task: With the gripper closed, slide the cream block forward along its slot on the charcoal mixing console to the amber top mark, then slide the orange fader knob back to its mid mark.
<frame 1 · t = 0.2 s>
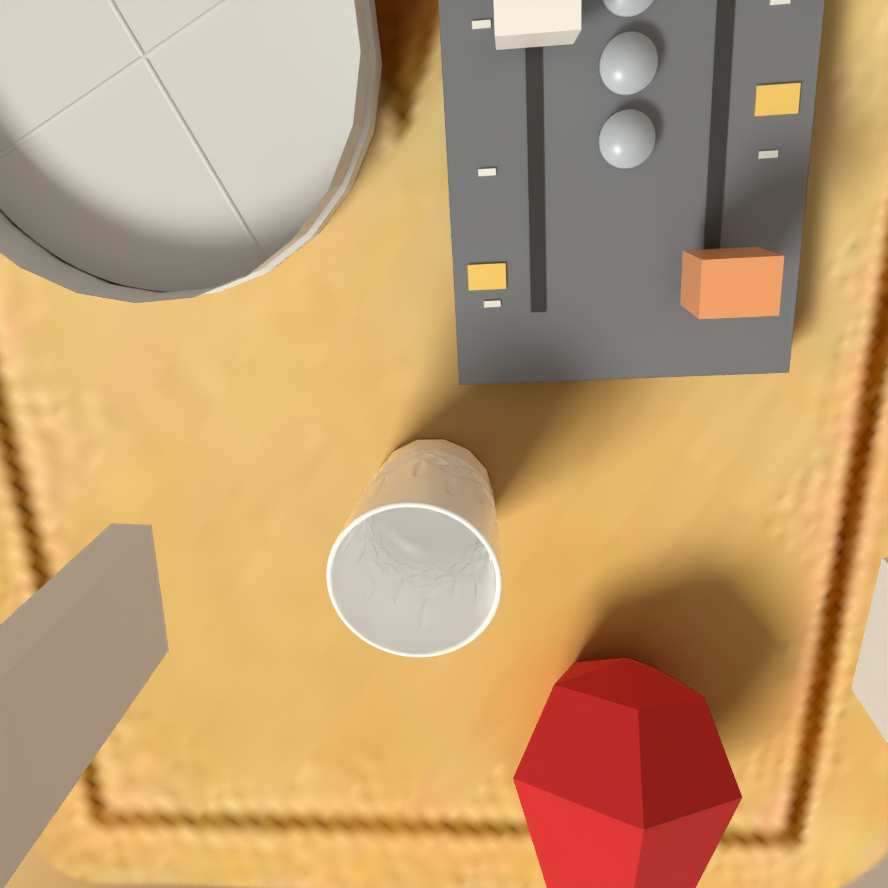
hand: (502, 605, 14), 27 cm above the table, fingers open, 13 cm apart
console: (617, 163, 37), on the table
red faceted polyhedron: (608, 720, 48), on the table
cream block: (534, 8, 30), point 5 cm above the table, slide at 0.0 cm
dish: (159, 61, 37), on the table
fader b: (725, 279, 33), point 5 cm above the table, slide at 11.0 cm
white cup: (433, 491, 44), on the table
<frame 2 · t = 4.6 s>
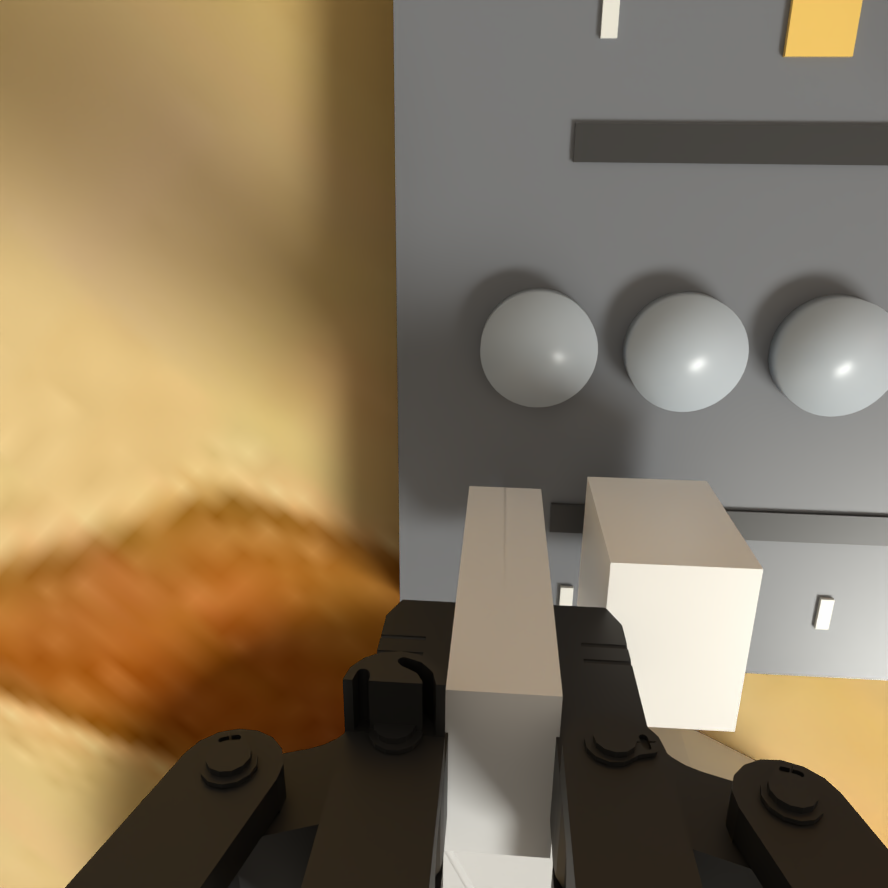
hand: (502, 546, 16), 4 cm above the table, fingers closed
console: (829, 329, 18), on the table
cream block: (649, 577, 15), point 5 cm above the table, slide at 1.3 cm, touching gripper
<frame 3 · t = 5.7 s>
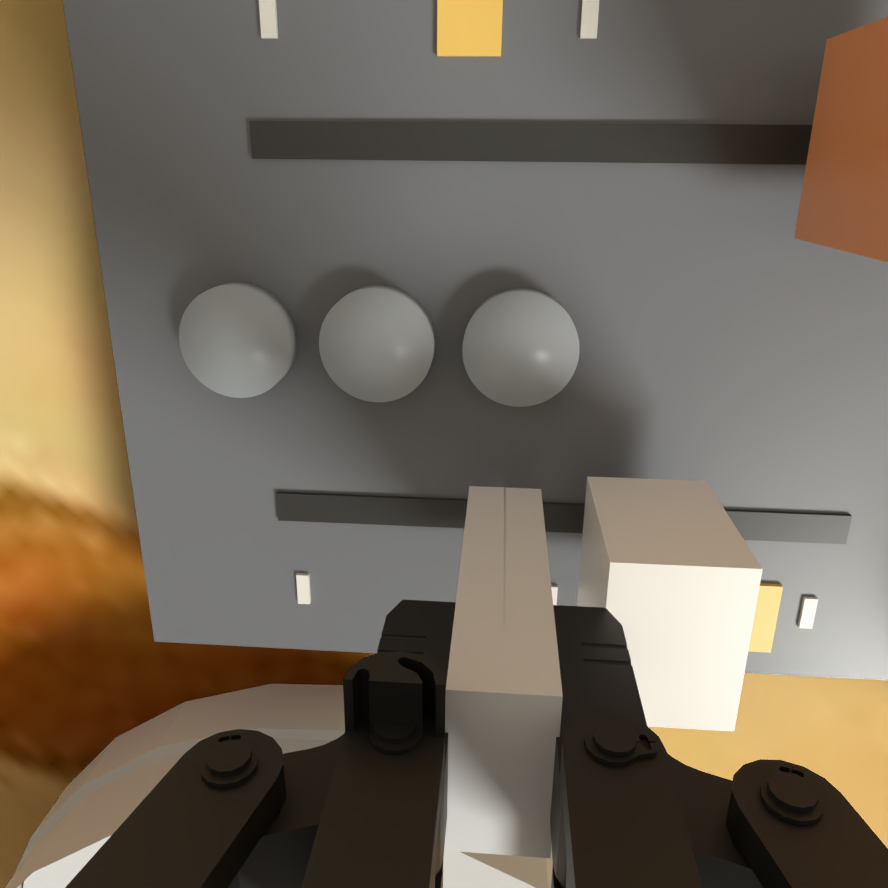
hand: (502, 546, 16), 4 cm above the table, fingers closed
console: (559, 322, 19), on the table
cream block: (648, 577, 15), point 5 cm above the table, slide at 7.7 cm, touching gripper
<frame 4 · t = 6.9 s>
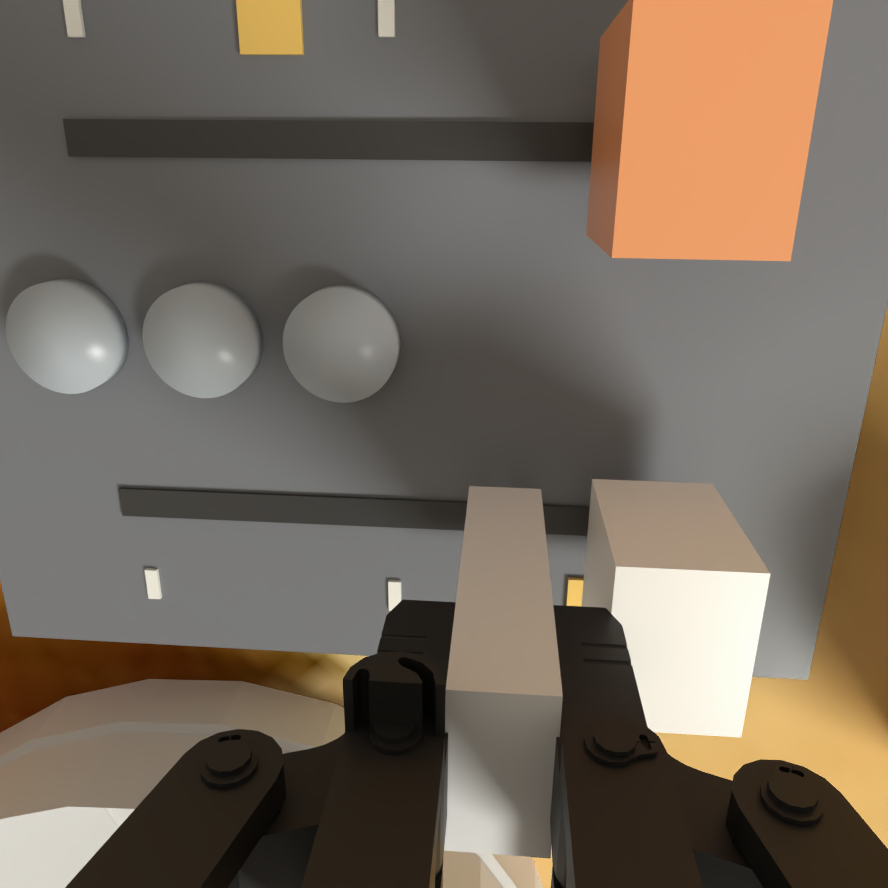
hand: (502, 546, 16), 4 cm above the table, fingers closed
console: (405, 319, 19), on the table
cream block: (654, 580, 15), point 5 cm above the table, slide at 11.5 cm, touching gripper
fader b: (677, 138, 12), point 5 cm above the table, slide at 11.0 cm
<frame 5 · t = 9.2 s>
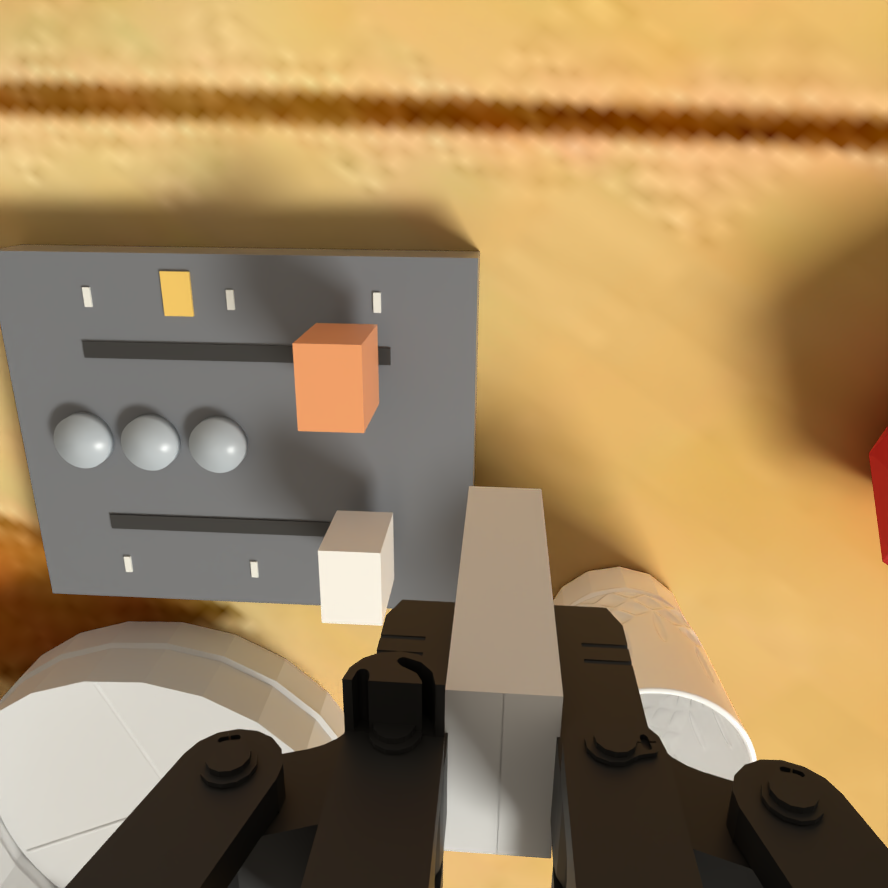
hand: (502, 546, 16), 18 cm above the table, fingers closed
console: (260, 424, 35), on the table
cream block: (361, 558, 32), point 5 cm above the table, slide at 11.5 cm
dish: (190, 780, 44), on the table
fader b: (342, 371, 29), point 5 cm above the table, slide at 11.0 cm
white cup: (611, 622, 38), on the table
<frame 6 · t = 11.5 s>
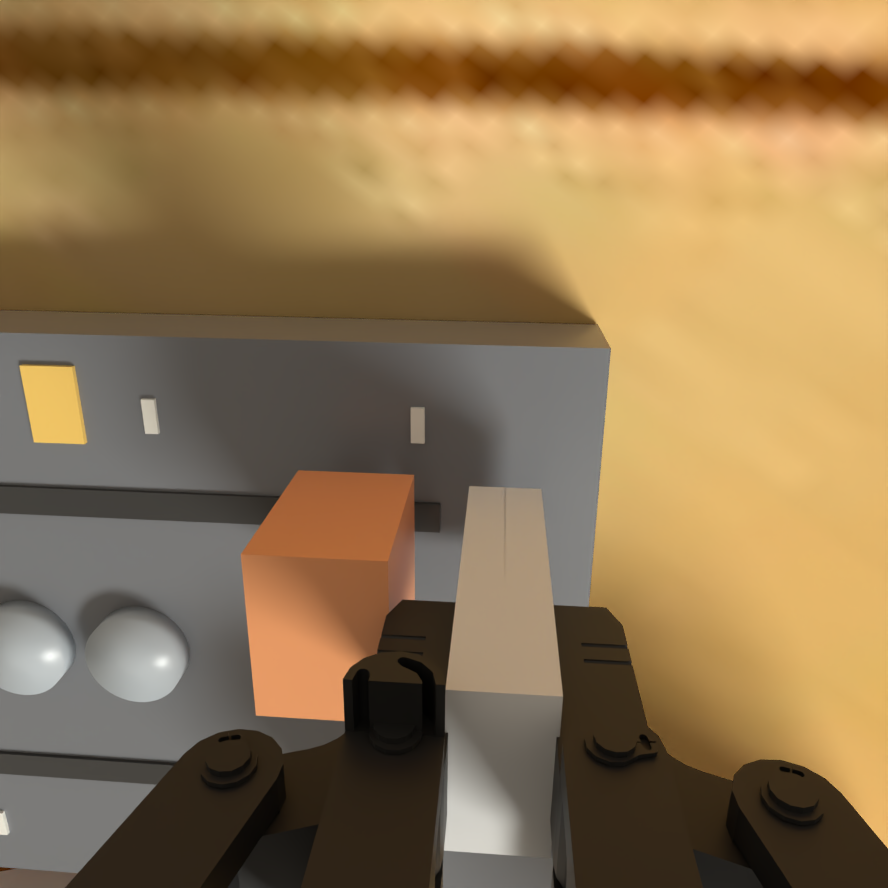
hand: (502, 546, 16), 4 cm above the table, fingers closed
console: (217, 596, 22), on the table
fader b: (347, 570, 15), point 5 cm above the table, slide at 10.9 cm, touching gripper
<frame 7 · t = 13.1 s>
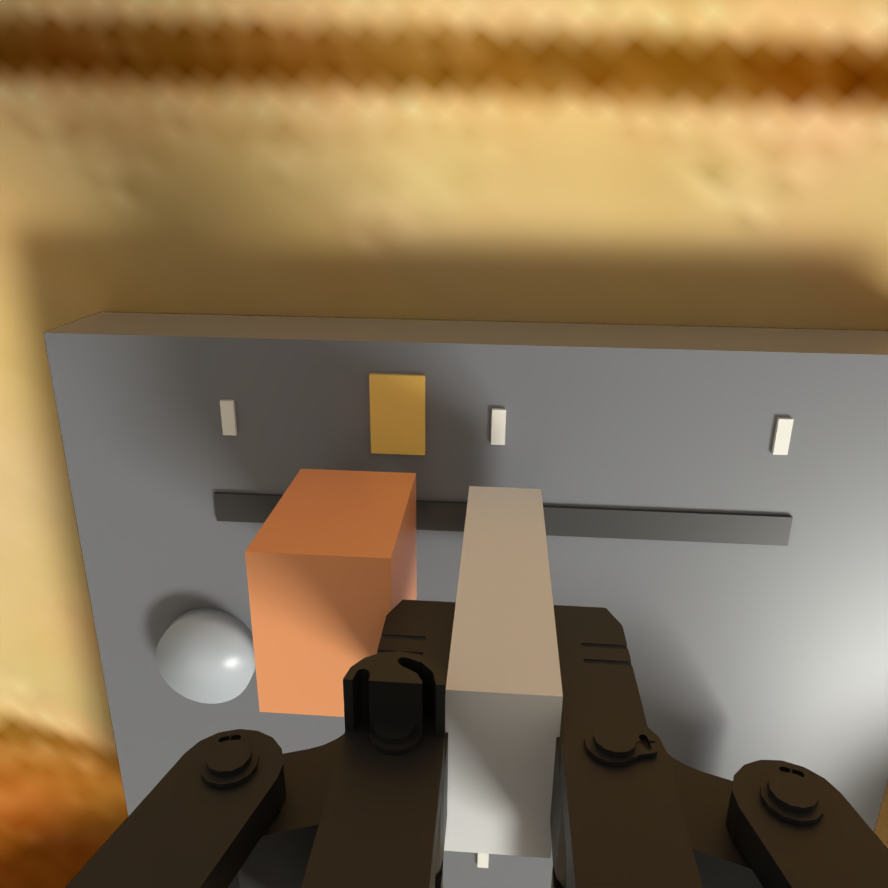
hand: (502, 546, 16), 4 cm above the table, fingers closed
console: (492, 608, 21), on the table
fader b: (349, 568, 15), point 5 cm above the table, slide at 3.1 cm, touching gripper
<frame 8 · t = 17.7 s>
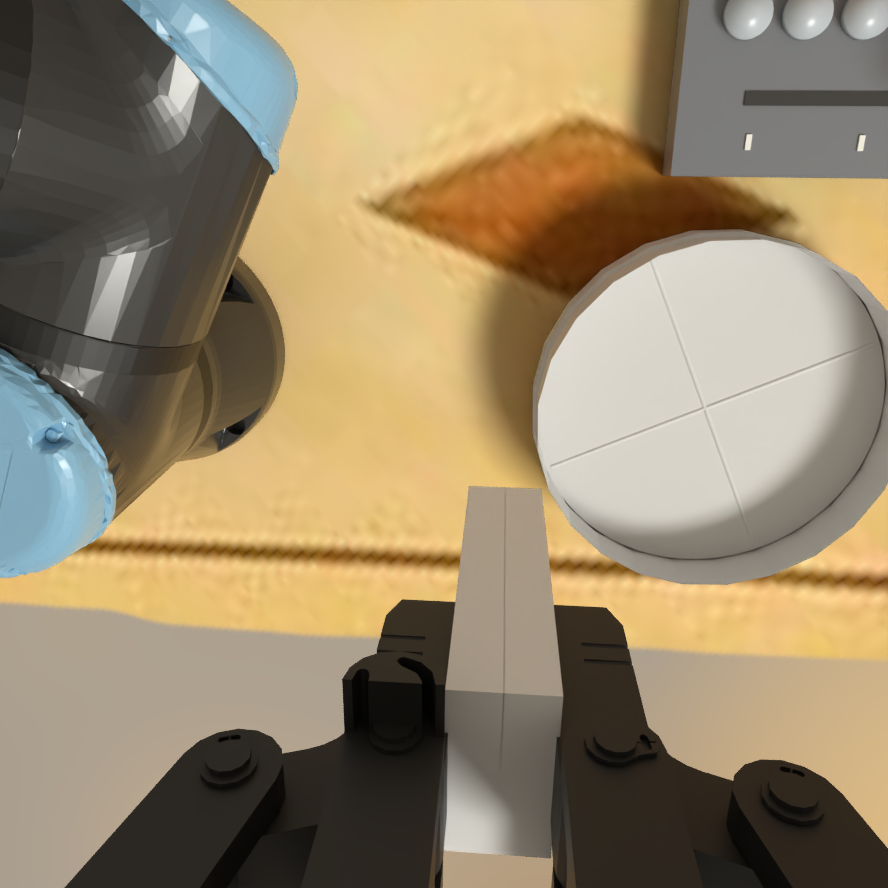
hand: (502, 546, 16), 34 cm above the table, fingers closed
console: (863, 22, 42), on the table
dish: (699, 400, 50), on the table
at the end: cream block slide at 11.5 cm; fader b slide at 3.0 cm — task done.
